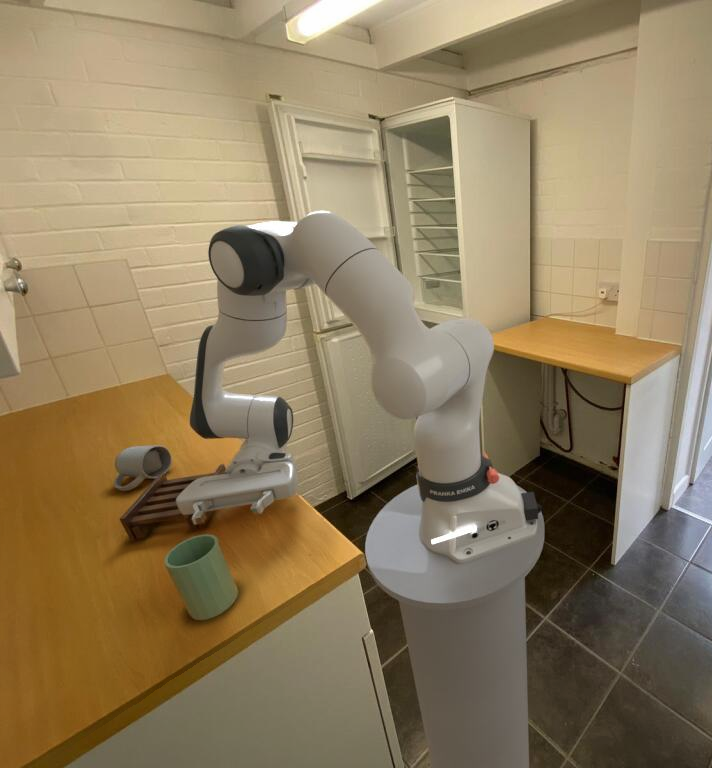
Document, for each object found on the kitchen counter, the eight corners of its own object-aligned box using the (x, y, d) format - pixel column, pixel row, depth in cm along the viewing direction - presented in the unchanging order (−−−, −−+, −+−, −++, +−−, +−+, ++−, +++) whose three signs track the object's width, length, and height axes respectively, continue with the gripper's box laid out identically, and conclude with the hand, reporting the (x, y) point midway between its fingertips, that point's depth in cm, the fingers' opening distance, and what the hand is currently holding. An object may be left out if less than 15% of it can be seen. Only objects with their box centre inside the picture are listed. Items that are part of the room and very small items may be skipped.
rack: (231, 483, 96) (224, 463, 94) (204, 528, 83) (195, 506, 81) (169, 493, 94) (160, 473, 91) (130, 541, 80) (119, 519, 78)
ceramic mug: (147, 464, 104) (134, 438, 101) (177, 465, 104) (165, 439, 100) (106, 492, 95) (90, 464, 92) (138, 493, 94) (124, 465, 91)
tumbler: (243, 580, 71) (224, 530, 67) (229, 614, 65) (207, 562, 61) (200, 589, 70) (177, 539, 65) (182, 624, 64) (155, 572, 59)
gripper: (189, 467, 84) (153, 513, 71) (299, 451, 88) (283, 492, 76) (200, 493, 86) (167, 541, 74) (306, 476, 91) (291, 519, 78)
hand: (226, 516), depth 75 cm, fingers open, 8 cm apart
